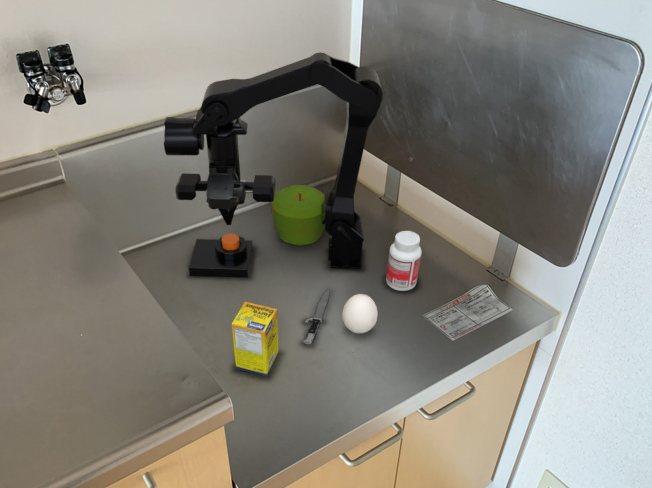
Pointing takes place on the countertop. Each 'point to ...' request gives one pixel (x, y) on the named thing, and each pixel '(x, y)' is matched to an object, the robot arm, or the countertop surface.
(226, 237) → the button
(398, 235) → the pill bottle
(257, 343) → the supplement box
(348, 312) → the egg
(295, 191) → the apple
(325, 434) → the countertop surface
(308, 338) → the knife
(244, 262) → the black button base
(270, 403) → the countertop surface
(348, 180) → the robot arm
